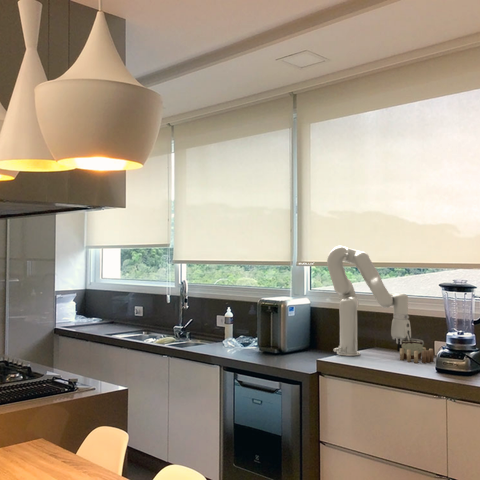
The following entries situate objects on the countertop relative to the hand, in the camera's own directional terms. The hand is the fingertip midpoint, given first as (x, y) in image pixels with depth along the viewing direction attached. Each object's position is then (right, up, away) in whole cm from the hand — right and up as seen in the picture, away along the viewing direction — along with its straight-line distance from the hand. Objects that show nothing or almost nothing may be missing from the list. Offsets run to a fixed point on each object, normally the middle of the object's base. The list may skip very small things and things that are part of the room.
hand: (400, 351), depth 297 cm
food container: (+4, -3, -5) cm, 7 cm away
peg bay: (+6, -3, -10) cm, 12 cm away
